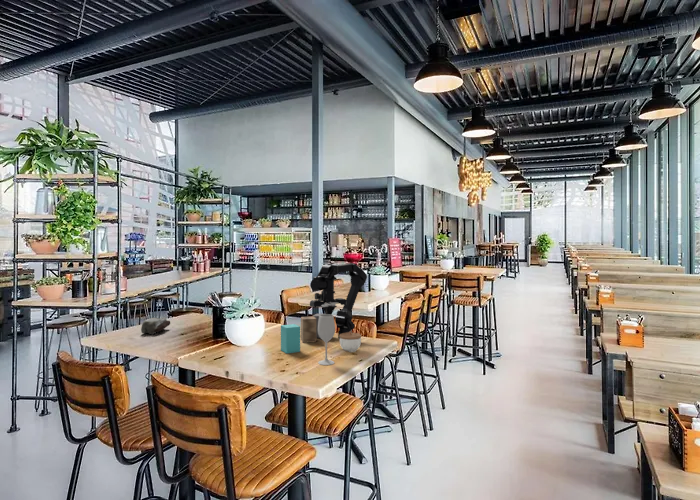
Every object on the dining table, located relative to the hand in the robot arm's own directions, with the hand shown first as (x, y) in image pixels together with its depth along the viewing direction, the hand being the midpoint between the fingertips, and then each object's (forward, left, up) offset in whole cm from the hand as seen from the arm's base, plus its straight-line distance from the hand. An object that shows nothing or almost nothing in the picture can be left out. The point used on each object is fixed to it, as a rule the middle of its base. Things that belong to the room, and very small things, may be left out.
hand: (328, 319), depth 224 cm
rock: (+105, -2, -13) cm, 106 cm away
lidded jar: (-14, +9, -13) cm, 21 cm away
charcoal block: (+8, -12, -12) cm, 19 cm away
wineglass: (-9, +32, -13) cm, 36 cm away
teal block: (+13, +20, -12) cm, 27 cm away
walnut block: (+11, -2, -12) cm, 17 cm away
